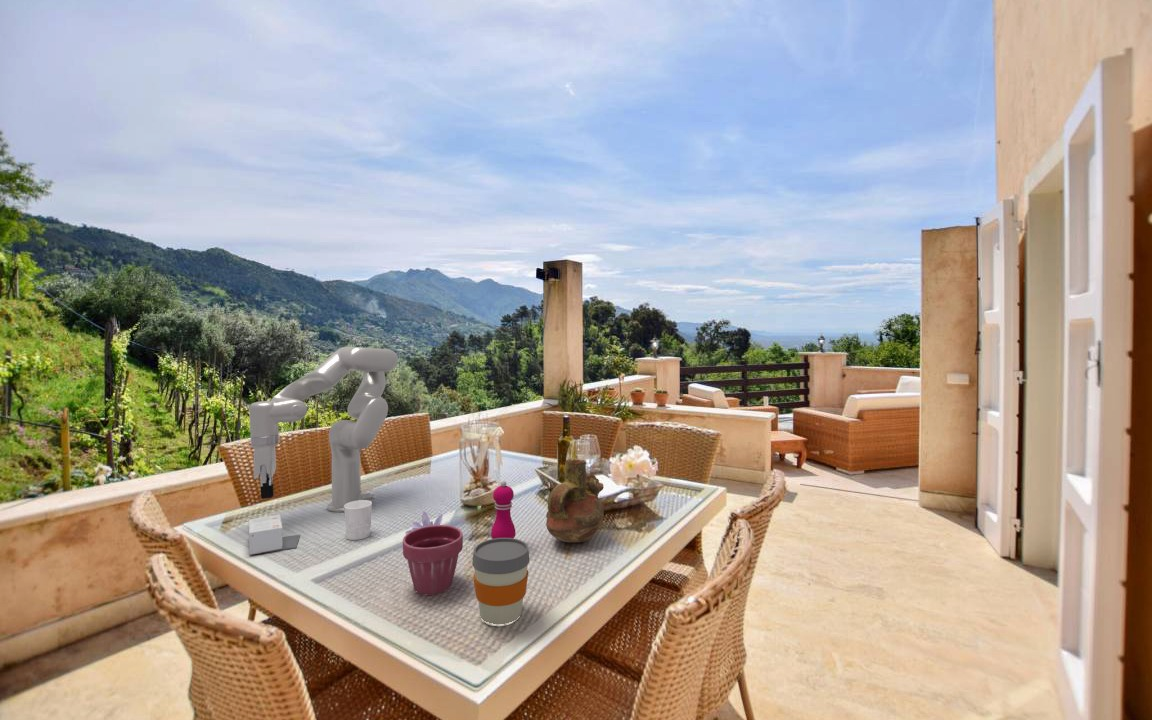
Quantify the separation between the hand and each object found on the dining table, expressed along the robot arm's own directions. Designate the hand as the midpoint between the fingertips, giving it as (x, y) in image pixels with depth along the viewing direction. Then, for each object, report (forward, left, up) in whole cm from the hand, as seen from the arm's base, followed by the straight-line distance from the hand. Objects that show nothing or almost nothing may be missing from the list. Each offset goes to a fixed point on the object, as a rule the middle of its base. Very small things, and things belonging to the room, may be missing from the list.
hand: (267, 497), depth 154 cm
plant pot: (-43, +57, -11) cm, 73 cm away
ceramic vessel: (-88, +44, -11) cm, 100 cm away
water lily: (-44, +37, -11) cm, 58 cm away
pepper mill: (-65, +42, -11) cm, 79 cm away
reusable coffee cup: (-55, +76, -11) cm, 95 cm away
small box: (0, +7, -7) cm, 10 cm away
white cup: (-26, +16, -11) cm, 33 cm away
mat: (-4, +14, -11) cm, 18 cm away
